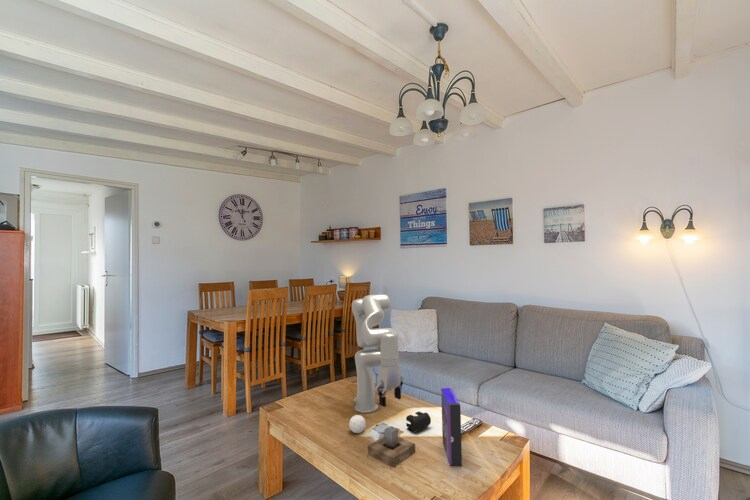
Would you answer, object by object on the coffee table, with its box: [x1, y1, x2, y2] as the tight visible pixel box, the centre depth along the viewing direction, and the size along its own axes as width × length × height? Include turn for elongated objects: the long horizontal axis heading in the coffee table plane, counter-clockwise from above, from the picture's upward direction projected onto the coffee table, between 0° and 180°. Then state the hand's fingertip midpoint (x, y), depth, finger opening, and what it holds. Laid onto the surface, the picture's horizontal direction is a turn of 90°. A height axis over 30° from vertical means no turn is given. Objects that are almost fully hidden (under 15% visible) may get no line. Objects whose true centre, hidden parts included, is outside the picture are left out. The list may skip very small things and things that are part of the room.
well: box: [367, 435, 416, 468], centre depth 151 cm, size 14×14×4 cm
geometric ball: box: [348, 414, 366, 434], centre depth 170 cm, size 8×8×8 cm
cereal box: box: [440, 387, 463, 467], centre depth 150 cm, size 17×5×24 cm, turn 178°
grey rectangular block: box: [384, 425, 399, 450], centre depth 151 cm, size 4×4×10 cm
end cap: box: [405, 411, 432, 434], centre depth 171 cm, size 10×7×7 cm
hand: (390, 401), depth 153 cm, fingers open, 9 cm apart
